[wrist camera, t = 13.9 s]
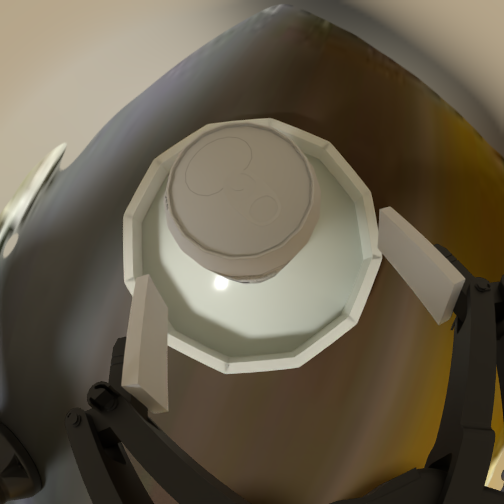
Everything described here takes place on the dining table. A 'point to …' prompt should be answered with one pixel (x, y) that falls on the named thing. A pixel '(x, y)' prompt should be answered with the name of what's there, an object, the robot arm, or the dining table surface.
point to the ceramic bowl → (270, 291)
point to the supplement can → (242, 201)
